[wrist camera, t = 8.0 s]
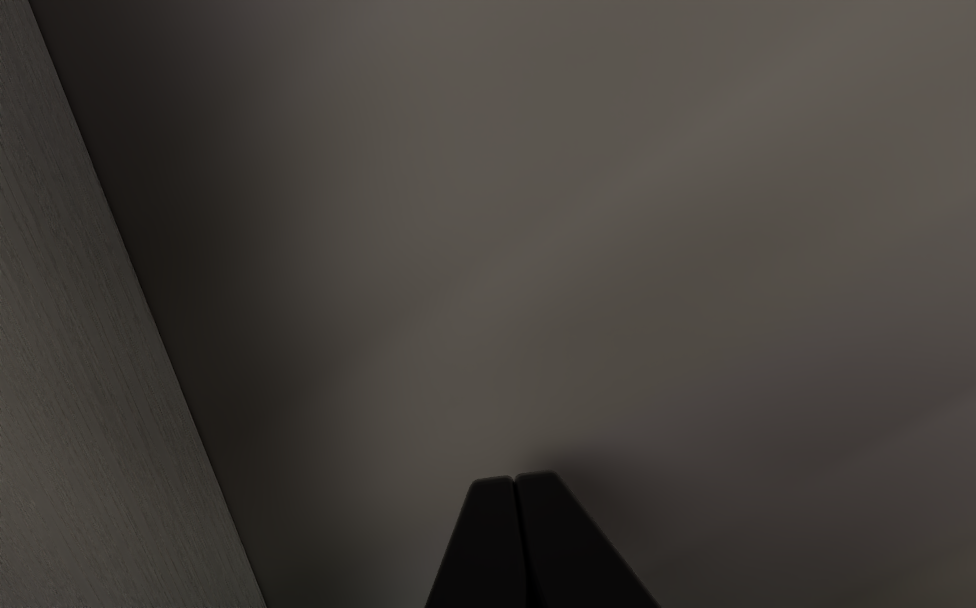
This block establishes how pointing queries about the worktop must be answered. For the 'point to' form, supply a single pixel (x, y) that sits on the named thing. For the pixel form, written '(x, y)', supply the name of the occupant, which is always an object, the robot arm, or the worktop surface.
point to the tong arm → (89, 386)
